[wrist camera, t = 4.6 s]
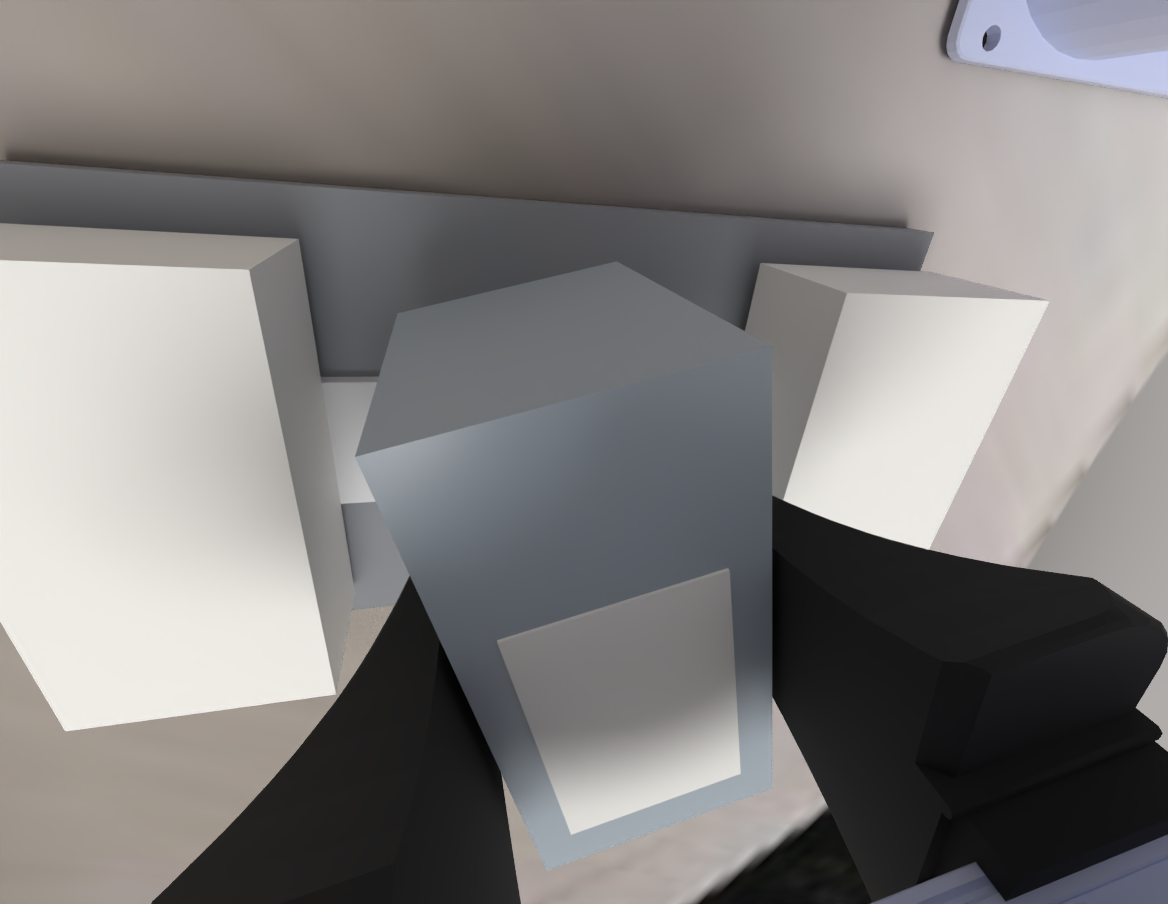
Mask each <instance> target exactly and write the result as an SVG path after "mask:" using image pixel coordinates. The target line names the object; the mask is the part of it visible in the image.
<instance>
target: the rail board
mask: <svg viewBox="0 0 1168 904" xmlns="http://www.w3.org/2000/svg"><path fill="white" fill-rule="evenodd" d="M933 234H934V233H933V232H927V231H921V230H915V229H909V228H897V227H883V226H870V225H857V224H843V223H830V222H817V221H804V220H790V219H777V218H764V217H751V216H737V215H724V214H711V213H698V212H684V211H671V210H658V209H645V208H631V207H618V206H605V205H592V204H578V203H565V202H552V201H539V200H525V199H512V198H499V197H485V196H472V195H459V194H446V193H432V192H419V191H406V190H393V189H379V188H366V187H353V186H340V185H326V184H313V183H300V182H287V181H273V180H260V179H247V178H234V177H220V176H207V175H194V174H181V173H167V172H154V171H141V170H128V169H114V168H101V167H88V166H74V165H61V164H48V163H35V162H21V161H8V160H0V622H1V624H2V625H3V627H4V629H5V630H6V632H7V634H8V635H9V637H10V639H11V640H12V642H13V644H14V646H15V647H16V649H17V651H18V652H19V654H20V656H21V657H22V659H23V661H24V662H25V664H26V666H27V667H28V669H29V671H30V673H31V674H32V676H33V678H34V679H35V681H36V683H37V684H38V686H39V688H40V689H41V691H42V693H43V694H44V696H45V698H46V700H47V701H48V703H49V705H50V706H51V708H52V710H53V711H54V713H55V715H56V716H57V718H58V720H59V721H60V723H61V725H62V726H63V728H64V730H65V731H72V730H79V729H87V728H94V727H101V726H108V725H116V724H123V723H130V722H138V721H145V720H152V719H160V718H167V717H174V716H182V715H189V714H196V713H203V712H211V711H218V710H225V709H233V708H240V707H247V706H255V705H262V704H269V703H277V702H284V701H291V700H298V699H306V698H313V697H320V696H328V695H335V694H336V692H337V686H338V681H339V676H340V671H341V665H342V660H343V655H344V650H345V644H346V639H347V634H348V628H349V623H350V618H351V613H352V610H355V609H365V608H374V607H384V606H394V605H395V604H396V602H397V600H398V598H399V596H400V594H401V592H402V590H403V588H404V586H405V584H406V582H407V580H408V577H409V573H408V570H407V568H406V566H405V564H404V562H403V560H402V558H401V555H400V553H399V551H398V549H397V547H396V545H395V542H394V540H393V538H392V536H391V534H390V532H389V529H388V527H387V525H386V523H385V521H384V519H383V517H382V514H381V512H380V510H379V508H378V506H377V504H376V501H375V499H374V497H373V495H372V493H371V491H370V488H369V486H368V484H367V482H366V480H365V478H364V476H363V473H362V471H361V469H360V467H359V465H358V463H357V460H356V458H355V455H356V451H357V448H358V445H359V441H360V438H361V435H362V431H363V428H364V425H365V421H366V418H367V414H368V411H369V408H370V404H371V401H372V398H373V394H374V391H375V388H376V384H377V381H378V378H379V374H380V371H381V368H382V364H383V361H384V357H385V354H386V351H387V347H388V344H389V341H390V337H391V334H392V331H393V327H394V324H395V321H396V317H397V314H398V313H401V312H405V311H409V310H414V309H418V308H422V307H426V306H430V305H435V304H439V303H443V302H447V301H452V300H456V299H460V298H464V297H468V296H473V295H477V294H481V293H485V292H489V291H494V290H498V289H502V288H506V287H511V286H515V285H519V284H523V283H527V282H532V281H536V280H540V279H544V278H549V277H553V276H557V275H561V274H565V273H570V272H574V271H578V270H582V269H586V268H591V267H595V266H599V265H603V264H608V263H612V262H616V261H617V262H619V263H621V264H623V265H624V266H626V267H628V268H630V269H632V270H634V271H635V272H637V273H639V274H641V275H643V276H645V277H646V278H648V279H650V280H652V281H654V282H655V283H657V284H659V285H661V286H663V287H665V288H666V289H668V290H670V291H672V292H674V293H676V294H677V295H679V296H681V297H683V298H685V299H687V300H688V301H690V302H692V303H694V304H696V305H698V306H699V307H701V308H703V309H705V310H707V311H709V312H710V313H712V314H714V315H716V316H718V317H720V318H721V319H723V320H725V321H727V322H729V323H731V324H732V325H734V326H736V327H738V328H740V329H741V330H743V331H745V332H747V333H749V334H751V335H752V336H754V337H756V338H758V339H760V340H762V341H763V342H765V343H767V344H769V345H771V346H772V495H773V496H775V497H777V498H779V499H782V500H784V501H786V502H788V503H790V504H793V505H795V506H797V507H800V508H802V509H805V510H807V511H809V512H812V513H814V514H816V515H819V516H821V517H824V518H827V519H829V520H832V521H835V522H837V523H840V524H843V525H846V526H849V527H852V528H855V529H858V530H861V531H864V532H867V533H870V534H873V535H876V536H880V537H883V538H887V539H890V540H894V541H897V542H901V543H905V544H909V545H913V546H916V547H920V548H924V549H928V550H929V548H930V546H931V544H932V542H933V540H934V537H935V535H936V533H937V531H938V529H939V527H940V525H941V523H942V521H943V519H944V517H945V515H946V513H947V511H948V509H949V507H950V505H951V503H952V500H953V498H954V496H955V494H956V492H957V490H958V488H959V486H960V484H961V482H962V480H963V478H964V476H965V474H966V472H967V470H968V468H969V466H970V464H971V461H972V459H973V457H974V455H975V453H976V451H977V449H978V447H979V445H980V443H981V441H982V439H983V437H984V435H985V433H986V431H987V429H988V427H989V425H990V422H991V420H992V418H993V416H994V414H995V412H996V410H997V408H998V406H999V404H1000V402H1001V400H1002V398H1003V396H1004V394H1005V392H1006V390H1007V388H1008V386H1009V383H1010V381H1011V379H1012V377H1013V375H1014V373H1015V371H1016V369H1017V367H1018V365H1019V363H1020V361H1021V359H1022V357H1023V355H1024V353H1025V351H1026V349H1027V347H1028V344H1029V342H1030V340H1031V338H1032V336H1033V334H1034V332H1035V330H1036V328H1037V326H1038V324H1039V322H1040V320H1041V318H1042V316H1043V314H1044V312H1045V310H1046V307H1047V305H1048V303H1049V301H1048V300H1044V299H1040V298H1036V297H1032V296H1028V295H1024V294H1020V293H1016V292H1012V291H1008V290H1003V289H999V288H995V287H991V286H987V285H983V284H979V283H975V282H971V281H967V280H963V279H958V278H954V277H950V276H946V275H942V274H938V273H934V272H924V271H920V270H921V267H922V264H923V262H924V259H925V256H926V253H927V251H928V248H929V245H930V242H931V240H932V237H933Z"/></svg>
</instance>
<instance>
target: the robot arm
mask: <svg viewBox="0 0 1168 904" xmlns="http://www.w3.org/2000/svg"><path fill="white" fill-rule="evenodd" d="M985 32H987V41H986V44H985V46H984V48H983V46H982V40H983V36H984V34H985ZM946 46H947V53H948V55H949V57H950V59H952V60H953V61H955V62H960V63H966V64H971V65H977V66H983V67H989V68H995V69H1001V70H1006V71H1012V72H1018V73H1024V74H1030V75H1036V76H1042V77H1047V78H1053V79H1059V80H1065V81H1071V82H1077V83H1082V84H1088V85H1094V86H1100V87H1106V88H1112V89H1118V90H1123V91H1129V92H1135V93H1141V94H1147V95H1153V96H1158V97H1164V98H1168V0H959V3H958V6H957V9H956V12H955V15H954V19H953V22H952V25H951V28H950V31H949V34H948V39H947V44H946ZM1167 647H1168V637H1167V632H1166V630H1165V628H1164V626H1163V625H1162V623H1161V622H1160V621H1158V620H1157V619H1155V618H1153V617H1152V616H1150V615H1149V614H1147V613H1146V612H1144V611H1143V610H1141V609H1140V608H1138V607H1136V606H1135V605H1134V604H1132V603H1130V602H1129V601H1127V600H1126V599H1124V598H1123V597H1121V596H1120V595H1118V594H1117V593H1115V592H1114V591H1112V590H1110V589H1109V588H1107V587H1106V586H1104V585H1103V584H1101V583H1100V582H1098V581H1097V580H1095V579H1093V578H1089V577H1082V576H1074V575H1067V574H1060V573H1053V572H1045V571H1039V570H1031V569H1025V568H1018V567H1011V566H1005V565H1000V564H994V563H989V562H984V561H979V560H974V559H969V558H963V557H958V556H954V555H950V554H945V553H941V552H936V551H932V550H928V549H924V548H920V547H916V546H913V545H909V544H905V543H901V542H897V541H894V540H890V539H887V538H883V537H880V536H876V535H873V534H870V533H867V532H864V531H861V530H858V529H855V528H852V527H849V526H846V525H843V524H840V523H837V522H835V521H832V520H829V519H827V518H824V517H821V516H819V515H816V514H814V513H812V512H809V511H807V510H805V509H802V508H800V507H797V506H795V505H793V504H790V503H788V502H786V501H784V500H782V499H779V498H777V497H775V496H773V495H772V697H773V699H774V700H775V702H776V704H777V706H778V708H779V710H780V712H781V714H782V715H783V717H784V719H785V721H786V723H787V725H788V727H789V729H790V731H791V733H792V735H793V737H794V739H795V741H796V743H797V745H798V747H799V749H800V751H801V752H802V754H803V756H804V758H805V760H806V762H807V764H808V766H809V768H810V770H811V772H812V774H813V777H814V779H815V781H816V783H817V785H818V787H819V789H820V791H821V793H822V795H823V797H824V799H825V801H826V803H827V805H828V807H829V809H830V811H831V813H832V815H833V818H834V820H835V822H836V824H837V826H838V828H839V830H840V832H841V835H842V837H843V839H844V841H845V843H846V845H847V847H848V850H849V852H850V854H851V856H852V858H853V860H854V863H855V865H856V867H857V869H858V871H859V873H860V875H861V878H862V880H863V882H864V884H865V886H866V889H867V891H868V893H869V895H870V898H871V900H872V902H873V903H871V904H1168V752H1167V751H1166V750H1165V749H1164V748H1162V747H1161V746H1160V745H1159V744H1158V743H1156V742H1155V740H1158V739H1159V738H1160V737H1161V735H1162V732H1161V730H1160V728H1159V726H1157V725H1156V724H1155V723H1154V722H1153V721H1151V720H1150V719H1149V718H1148V717H1146V716H1145V715H1144V714H1143V713H1141V712H1140V711H1139V710H1138V709H1136V708H1135V707H1136V706H1137V704H1138V702H1139V701H1140V699H1141V697H1142V696H1143V694H1144V693H1145V691H1146V689H1147V688H1148V686H1149V684H1150V683H1151V681H1152V679H1153V677H1154V676H1155V675H1156V673H1157V671H1158V670H1159V668H1160V666H1161V664H1162V662H1163V660H1164V658H1165V655H1166V653H1167ZM151 904H521V902H520V896H519V889H518V883H517V877H516V871H515V864H514V858H513V851H512V844H511V838H510V831H509V824H508V818H507V811H506V804H505V797H504V790H503V782H502V775H501V771H500V769H499V767H498V765H497V762H496V760H495V758H494V756H493V754H492V752H491V750H490V747H489V745H488V743H487V741H486V739H485V737H484V734H483V732H482V730H481V728H480V726H479V724H478V722H477V719H476V717H475V715H474V713H473V711H472V709H471V706H470V704H469V702H468V700H467V698H466V696H465V693H464V691H463V689H462V687H461V685H460V683H459V681H458V678H457V676H456V674H455V672H454V670H453V668H452V665H451V663H450V661H449V659H448V657H447V655H446V652H445V650H444V648H443V646H442V644H441V642H440V640H439V637H438V635H437V633H436V631H435V629H434V627H433V624H432V622H431V620H430V618H429V616H428V614H427V611H426V609H425V607H424V605H423V603H422V601H421V599H420V596H419V594H418V592H417V590H416V588H415V586H414V583H413V581H412V579H411V577H410V575H409V577H408V580H407V582H406V584H405V586H404V588H403V590H402V592H401V594H400V596H399V598H398V600H397V602H396V604H395V606H394V608H393V610H392V612H391V613H390V615H389V617H388V619H387V621H386V622H385V624H384V626H383V628H382V629H381V631H380V633H379V635H378V636H377V638H376V640H375V642H374V643H373V645H372V647H371V649H370V650H369V652H368V654H367V655H366V657H365V658H364V660H363V662H362V663H361V665H360V666H359V668H358V669H357V671H356V673H355V674H354V676H353V677H352V679H351V680H350V681H349V683H348V684H347V686H346V687H345V689H344V690H343V692H342V693H341V695H340V696H339V697H338V699H337V700H336V702H335V703H334V704H333V706H332V707H331V708H330V709H329V711H328V712H327V713H326V715H325V716H324V717H323V718H322V720H321V721H320V722H319V723H318V725H317V726H316V727H315V729H314V730H313V731H312V732H311V734H310V735H309V736H308V737H307V739H306V740H305V741H304V742H303V744H302V745H301V746H300V748H299V749H298V750H297V751H296V752H295V754H294V755H293V756H292V757H291V758H290V760H289V761H288V762H287V763H286V764H285V765H284V766H283V768H282V769H281V770H280V771H279V772H278V773H277V774H276V776H275V777H274V778H273V779H272V780H271V781H270V783H269V784H268V785H267V786H266V787H265V788H264V789H263V790H262V791H261V792H260V793H259V795H258V796H257V797H256V798H255V799H254V800H253V801H252V802H251V803H250V804H249V805H248V807H247V808H246V809H245V810H244V811H243V812H242V813H241V814H240V815H239V816H238V817H237V818H236V819H235V820H234V821H233V822H232V824H231V825H230V826H229V827H228V828H227V829H226V830H225V831H224V832H223V833H222V834H221V835H220V836H219V837H218V838H217V839H216V840H215V841H214V842H213V843H212V844H211V845H210V846H209V847H208V848H207V849H206V850H205V851H204V852H203V853H202V854H201V855H200V856H199V857H198V858H197V859H196V860H195V861H194V862H193V863H192V864H190V865H189V866H188V867H187V868H186V869H185V870H184V871H183V872H182V873H181V874H180V875H179V876H178V877H177V878H176V879H175V880H174V881H173V882H172V883H171V884H170V885H169V886H168V887H167V888H166V889H165V890H164V891H163V892H162V893H161V894H160V895H159V896H158V897H157V898H156V899H155V900H153V901H152V903H151Z"/></svg>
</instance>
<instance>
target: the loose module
mask: <svg viewBox="0 0 1168 904" xmlns="http://www.w3.org/2000/svg"><path fill="white" fill-rule="evenodd" d="M355 458H356V460H357V463H358V465H359V467H360V469H361V471H362V473H363V476H364V478H365V480H366V482H367V484H368V486H369V488H370V491H371V493H372V495H373V497H374V499H375V501H376V504H377V506H378V508H379V510H380V512H381V514H382V517H383V519H384V521H385V523H386V525H387V527H388V529H389V532H390V534H391V536H392V538H393V540H394V542H395V545H396V547H397V549H398V551H399V553H400V555H401V558H402V560H403V562H404V564H405V566H406V568H407V570H408V573H409V575H410V577H411V579H412V581H413V583H414V586H415V588H416V590H417V592H418V594H419V596H420V599H421V601H422V603H423V605H424V607H425V609H426V611H427V614H428V616H429V618H430V620H431V622H432V624H433V627H434V629H435V631H436V633H437V635H438V637H439V640H440V642H441V644H442V646H443V648H444V650H445V652H446V655H447V657H448V659H449V661H450V663H451V665H452V668H453V670H454V672H455V674H456V676H457V678H458V681H459V683H460V685H461V687H462V689H463V691H464V693H465V696H466V698H467V700H468V702H469V704H470V706H471V709H472V711H473V713H474V715H475V717H476V719H477V722H478V724H479V726H480V728H481V730H482V732H483V734H484V737H485V739H486V741H487V743H488V745H489V747H490V750H491V752H492V754H493V756H494V758H495V760H496V762H497V765H498V767H499V769H500V771H501V773H502V775H503V778H504V780H505V782H506V784H507V786H508V788H509V791H510V793H511V795H512V797H513V799H514V801H515V803H516V806H517V808H518V810H519V812H520V814H521V816H522V819H523V821H524V823H525V825H526V827H527V829H528V832H529V834H530V836H531V838H532V840H533V842H534V844H535V847H536V849H537V851H538V853H539V855H540V857H541V860H542V862H543V864H544V866H545V868H546V870H547V871H548V870H551V869H553V868H556V867H559V866H562V865H564V864H567V863H570V862H573V861H575V860H578V859H581V858H583V857H586V856H589V855H592V854H594V853H597V852H600V851H603V850H605V849H608V848H611V847H613V846H616V845H619V844H622V843H624V842H627V841H630V840H633V839H635V838H638V837H641V836H644V835H646V834H649V833H652V832H654V831H657V830H660V829H663V828H665V827H668V826H671V825H674V824H676V823H679V822H682V821H684V820H687V819H690V818H693V817H695V816H698V815H701V814H704V813H706V812H709V811H712V810H714V809H717V808H720V807H723V806H725V805H728V804H731V803H734V802H736V801H739V800H742V799H744V798H747V797H750V796H753V795H755V794H758V793H761V792H764V791H766V790H769V789H772V346H771V345H769V344H767V343H765V342H763V341H762V340H760V339H758V338H756V337H754V336H752V335H751V334H749V333H747V332H745V331H743V330H741V329H740V328H738V327H736V326H734V325H732V324H731V323H729V322H727V321H725V320H723V319H721V318H720V317H718V316H716V315H714V314H712V313H710V312H709V311H707V310H705V309H703V308H701V307H699V306H698V305H696V304H694V303H692V302H690V301H688V300H687V299H685V298H683V297H681V296H679V295H677V294H676V293H674V292H672V291H670V290H668V289H666V288H665V287H663V286H661V285H659V284H657V283H655V282H654V281H652V280H650V279H648V278H646V277H645V276H643V275H641V274H639V273H637V272H635V271H634V270H632V269H630V268H628V267H626V266H624V265H623V264H621V263H619V262H617V261H616V262H612V263H608V264H603V265H599V266H595V267H591V268H586V269H582V270H578V271H574V272H570V273H565V274H561V275H557V276H553V277H549V278H544V279H540V280H536V281H532V282H527V283H523V284H519V285H515V286H511V287H506V288H502V289H498V290H494V291H489V292H485V293H481V294H477V295H473V296H468V297H464V298H460V299H456V300H452V301H447V302H443V303H439V304H435V305H430V306H426V307H422V308H418V309H414V310H409V311H405V312H401V313H398V314H397V317H396V321H395V324H394V327H393V331H392V334H391V337H390V341H389V344H388V347H387V351H386V354H385V357H384V361H383V364H382V368H381V371H380V374H379V378H378V381H377V384H376V388H375V391H374V394H373V398H372V401H371V404H370V408H369V411H368V414H367V418H366V421H365V425H364V428H363V431H362V435H361V438H360V441H359V445H358V448H357V451H356V455H355Z"/></svg>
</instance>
